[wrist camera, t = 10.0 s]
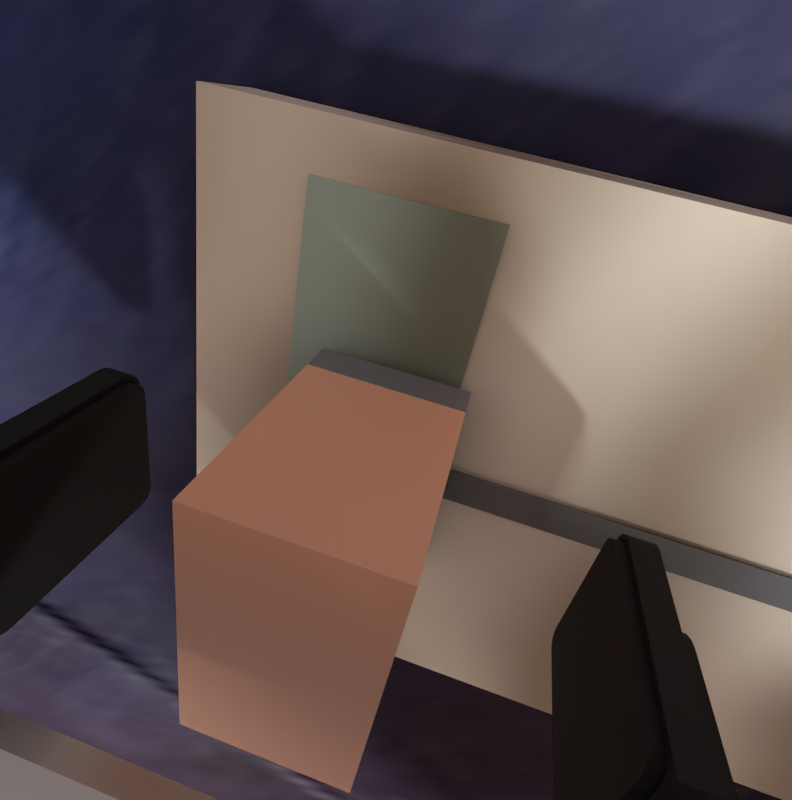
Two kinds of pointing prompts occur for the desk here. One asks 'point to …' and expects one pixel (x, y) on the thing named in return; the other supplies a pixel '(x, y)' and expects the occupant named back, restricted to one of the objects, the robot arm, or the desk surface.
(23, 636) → the desk surface
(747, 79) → the desk surface
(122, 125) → the desk surface
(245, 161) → the fader board
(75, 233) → the desk surface
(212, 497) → the fader tab
